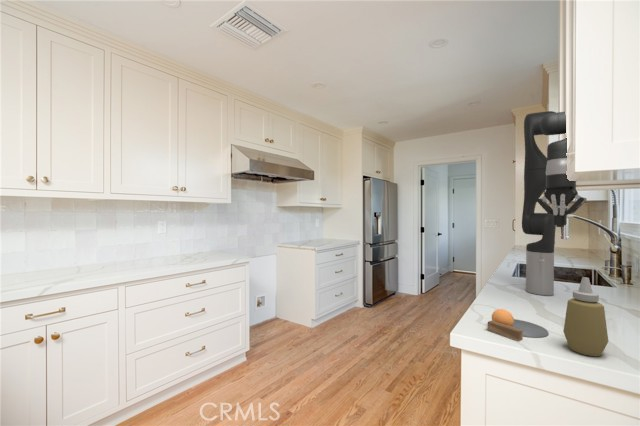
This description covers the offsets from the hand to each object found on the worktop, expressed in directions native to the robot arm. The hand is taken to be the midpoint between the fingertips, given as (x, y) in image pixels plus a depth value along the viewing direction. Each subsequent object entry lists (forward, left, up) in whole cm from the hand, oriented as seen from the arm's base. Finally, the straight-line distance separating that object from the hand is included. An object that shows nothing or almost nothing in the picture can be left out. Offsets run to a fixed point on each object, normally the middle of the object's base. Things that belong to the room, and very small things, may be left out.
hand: (560, 226), depth 93 cm
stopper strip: (+31, -2, -29) cm, 42 cm away
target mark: (+22, -2, -29) cm, 36 cm away
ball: (+27, -4, -26) cm, 38 cm away
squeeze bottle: (+24, +13, -29) cm, 40 cm away
